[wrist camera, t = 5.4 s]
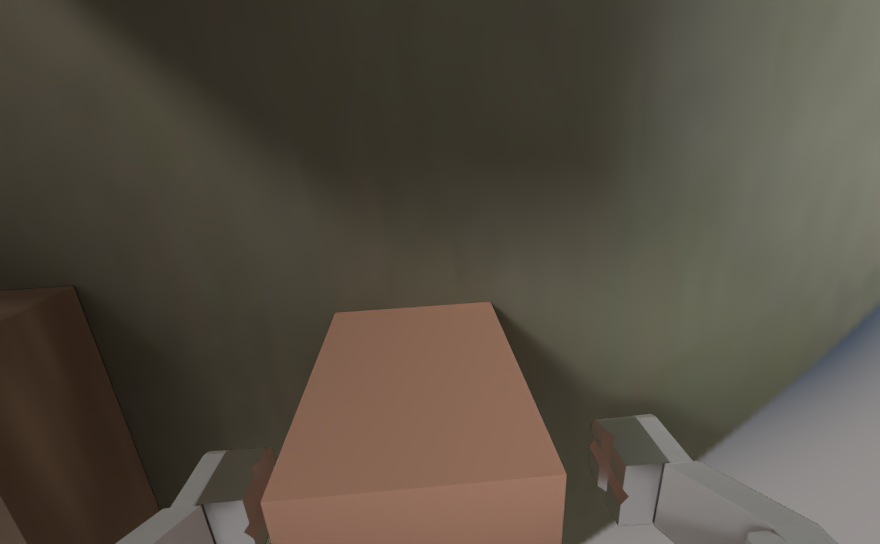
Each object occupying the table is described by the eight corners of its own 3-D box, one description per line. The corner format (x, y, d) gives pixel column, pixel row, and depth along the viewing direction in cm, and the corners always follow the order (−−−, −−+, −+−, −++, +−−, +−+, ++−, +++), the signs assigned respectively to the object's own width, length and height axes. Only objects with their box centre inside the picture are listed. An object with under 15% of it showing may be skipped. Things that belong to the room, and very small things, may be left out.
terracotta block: (353, 436, 15) (309, 686, 8) (335, 312, 13) (260, 502, 7) (490, 425, 15) (552, 658, 9) (490, 301, 13) (567, 474, 7)
